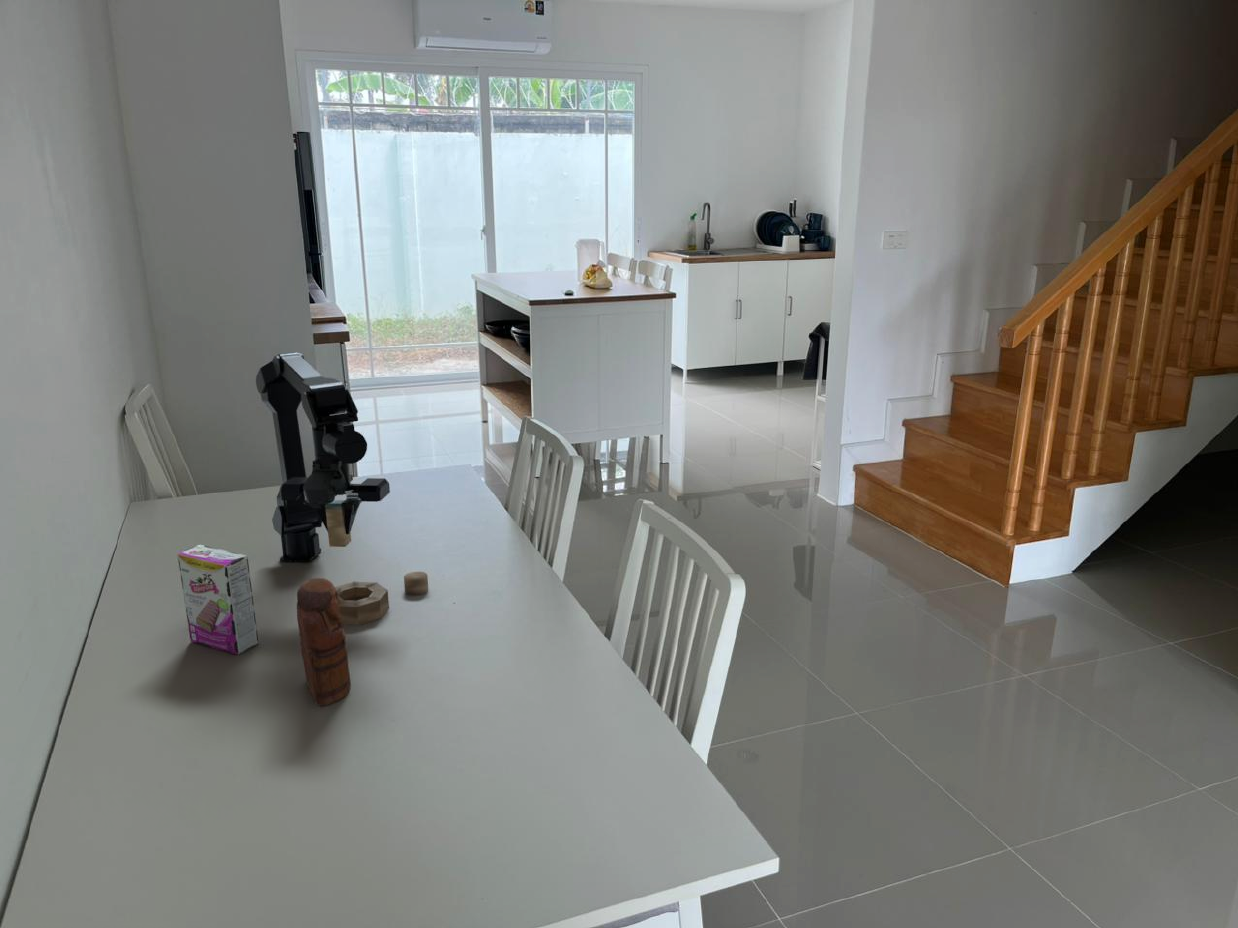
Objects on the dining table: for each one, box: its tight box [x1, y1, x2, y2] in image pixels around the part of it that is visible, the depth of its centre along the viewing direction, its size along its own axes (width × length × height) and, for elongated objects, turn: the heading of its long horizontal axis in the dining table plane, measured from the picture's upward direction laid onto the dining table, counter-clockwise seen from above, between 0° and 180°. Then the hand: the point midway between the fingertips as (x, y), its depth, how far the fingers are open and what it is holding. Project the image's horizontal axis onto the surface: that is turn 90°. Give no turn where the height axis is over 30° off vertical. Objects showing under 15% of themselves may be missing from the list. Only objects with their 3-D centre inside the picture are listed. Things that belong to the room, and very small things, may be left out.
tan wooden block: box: [325, 499, 352, 548], centre depth 173 cm, size 3×3×8 cm
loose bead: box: [403, 571, 429, 596], centre depth 180 cm, size 4×4×3 cm
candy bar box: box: [177, 544, 259, 656], centre depth 157 cm, size 11×5×16 cm, turn 65°
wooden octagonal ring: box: [334, 581, 390, 626], centre depth 171 cm, size 10×10×4 cm
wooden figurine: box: [296, 577, 351, 706], centre depth 144 cm, size 12×6×18 cm, turn 26°
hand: (339, 533), depth 174 cm, fingers closed on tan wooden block, 3 cm apart
